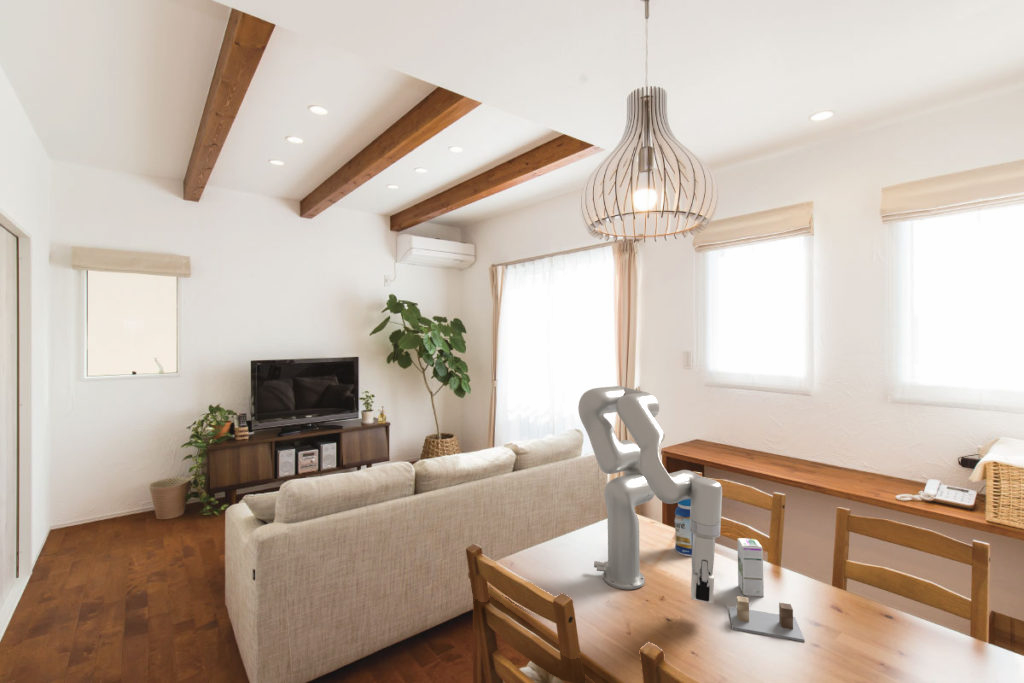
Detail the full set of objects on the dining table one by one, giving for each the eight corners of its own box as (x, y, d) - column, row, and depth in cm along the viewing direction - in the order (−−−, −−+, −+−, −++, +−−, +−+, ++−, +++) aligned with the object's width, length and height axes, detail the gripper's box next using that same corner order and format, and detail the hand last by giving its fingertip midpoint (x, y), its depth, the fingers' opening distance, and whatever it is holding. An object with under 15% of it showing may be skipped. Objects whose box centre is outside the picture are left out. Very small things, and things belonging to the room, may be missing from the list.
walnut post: (781, 627, 121) (781, 607, 121) (779, 621, 123) (779, 602, 123) (793, 629, 120) (792, 609, 120) (790, 623, 122) (790, 604, 122)
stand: (732, 629, 121) (732, 626, 121) (728, 608, 130) (728, 606, 130) (804, 641, 116) (804, 639, 116) (794, 619, 125) (794, 617, 125)
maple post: (738, 620, 124) (738, 601, 124) (737, 614, 126) (736, 596, 126) (749, 622, 123) (749, 602, 123) (747, 616, 126) (747, 597, 126)
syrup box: (764, 597, 136) (764, 546, 136) (742, 595, 137) (741, 545, 137) (758, 587, 142) (758, 538, 142) (737, 585, 143) (736, 537, 143)
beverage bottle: (704, 557, 162) (703, 498, 162) (679, 557, 162) (679, 498, 162) (695, 546, 170) (694, 490, 170) (671, 546, 170) (671, 491, 170)
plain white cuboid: (691, 599, 124) (692, 574, 124) (690, 588, 129) (692, 565, 129) (712, 603, 123) (714, 578, 122) (711, 592, 128) (712, 568, 127)
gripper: (689, 512, 135) (686, 574, 135) (690, 537, 118) (687, 608, 119) (717, 516, 132) (714, 580, 133) (723, 543, 116) (719, 615, 117)
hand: (701, 592), depth 126 cm, fingers closed on plain white cuboid, 5 cm apart
